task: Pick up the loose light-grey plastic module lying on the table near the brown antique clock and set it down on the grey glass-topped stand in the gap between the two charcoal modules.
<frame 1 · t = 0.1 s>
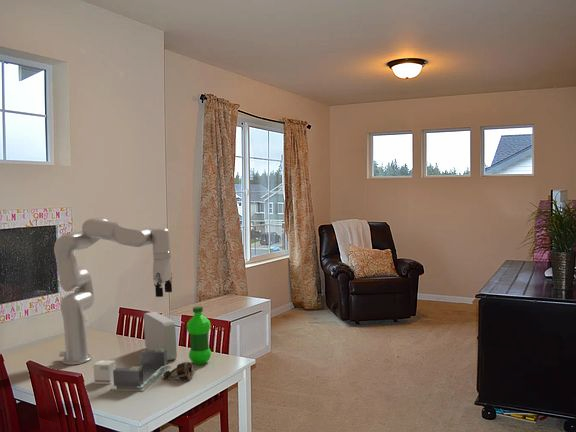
hand: (164, 294, 237), 31 cm above the table, tool pointing down, fingers open, 9 cm apart
plastic bottle: (200, 363, 237), on the table
rounded white slab: (160, 354, 252), on the table
brown antique clock: (179, 378, 219), on the table
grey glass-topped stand: (142, 378, 220), on the table
module: (105, 381, 219), on the table
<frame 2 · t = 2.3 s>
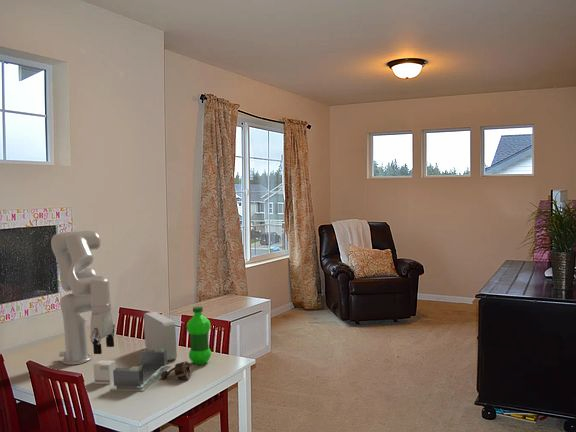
hand: (104, 350, 217), 13 cm above the table, tool pointing down, fingers open, 9 cm apart
brown antique clock: (177, 378, 220), on the table
everything else where it was.
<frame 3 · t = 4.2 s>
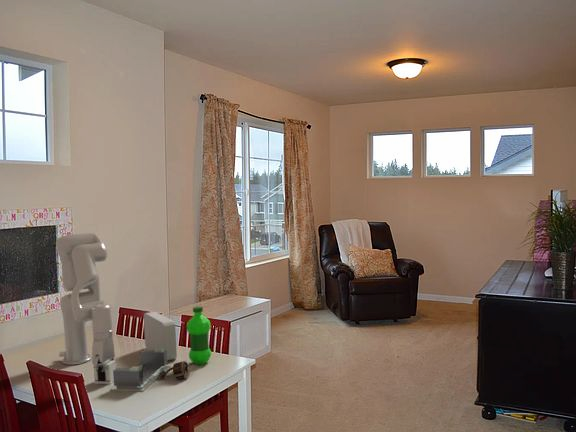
hand: (105, 377, 219), 1 cm above the table, tool pointing down, fingers closed on module, 5 cm apart
brown antique clock: (175, 378, 220), on the table
module: (105, 381, 219), on the table, touching gripper
everything else where it was.
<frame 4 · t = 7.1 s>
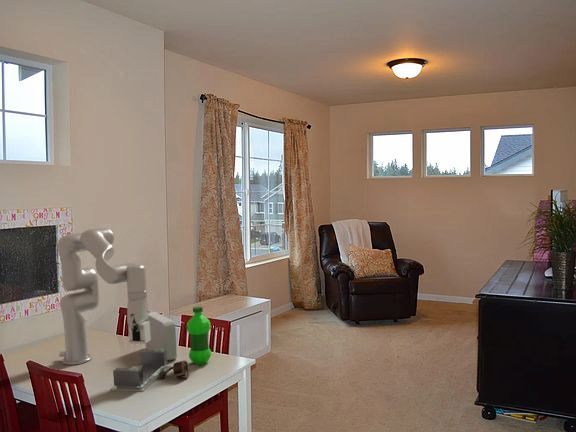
hand: (139, 338, 219), 17 cm above the table, tool pointing down, fingers closed on module, 5 cm apart
module: (140, 341, 220), point 15 cm above the table, touching gripper
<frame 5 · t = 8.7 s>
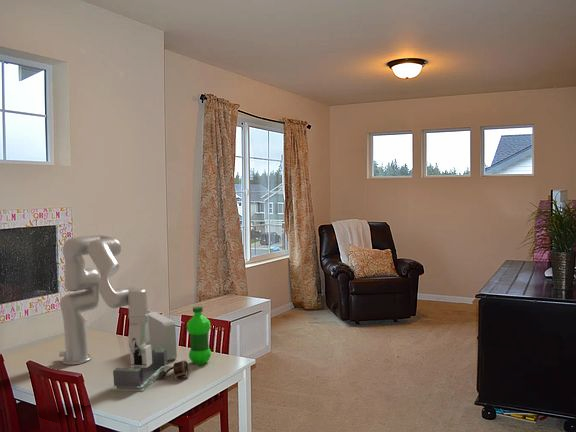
hand: (141, 361, 220), 7 cm above the table, tool pointing down, fingers closed on module, 5 cm apart
module: (141, 365, 220), point 5 cm above the table, touching gripper
everything else where it was.
when the fingers open (5 cm above the table, at t = 10.0 s): module drops 1 cm, resting on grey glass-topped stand.
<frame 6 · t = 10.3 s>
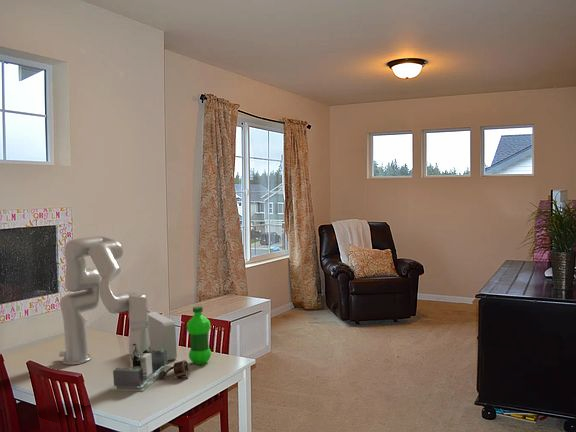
hand: (141, 366, 220), 5 cm above the table, tool pointing down, fingers open, 7 cm apart
module: (141, 374, 220), point 2 cm above the table, touching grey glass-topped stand
everything else where it was.
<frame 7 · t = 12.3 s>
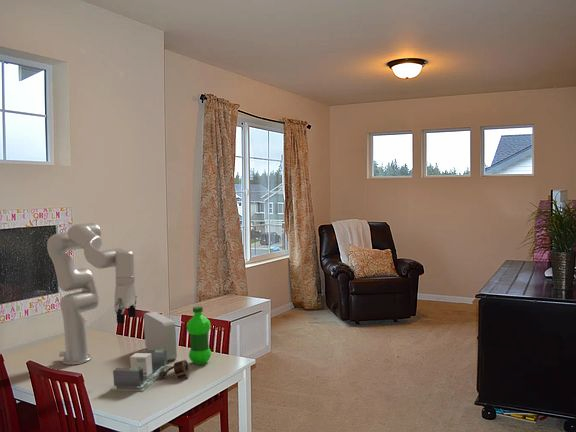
hand: (126, 320, 224), 23 cm above the table, tool pointing down, fingers open, 9 cm apart
nothing on the table moved.
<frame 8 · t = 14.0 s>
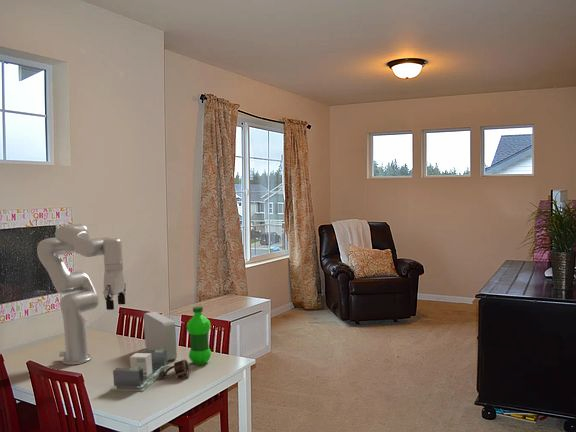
hand: (116, 306, 229), 28 cm above the table, tool pointing down, fingers open, 9 cm apart
nothing on the table moved.
at the end: module inside the target area on the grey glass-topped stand (0.1 cm from its centre), point 1.8 cm above the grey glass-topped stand's base; module tilted 0°; the gripper is holding nothing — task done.
